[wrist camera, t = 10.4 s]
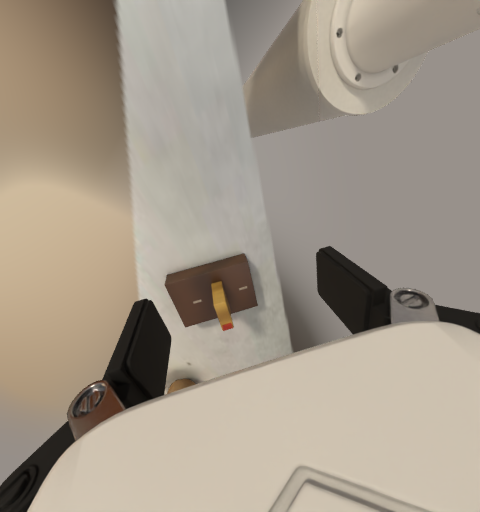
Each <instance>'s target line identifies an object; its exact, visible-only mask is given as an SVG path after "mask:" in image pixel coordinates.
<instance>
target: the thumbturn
mask: <svg viewBox="0 0 480 512" xmlns="http://www.w3.org/2000/svg"><path fill="white" fill-rule="evenodd" d="M211 286H212V295H213V304H214V308H215V310H216V313H217V316H218V319H219V322H220V324H221V327H222V330H223V331H225V330H228V329H231V328H233V327H234V326H233V322H232V317H231V312H230V307H229V303H228V300H227V297H226V294H225V290H224V287H223V284H222V281H219V282H216V283H212V284H211Z"/></svg>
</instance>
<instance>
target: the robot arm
mask: <svg viewBox="0 0 480 512" xmlns="http://www.w3.org/2000/svg"><path fill="white" fill-rule="evenodd" d="M478 29H480V0H336V3H335V6H334V10H333V13H332V18H331V25H330V50H331V56H332V60H333V63H334V66H335V68H336V70H337V72H338V74H339V75H340V77H341V78H342V80H343V81H344V82H346V83H347V84H348V85H349V86H351V87H354V88H356V89H361V90H366V89H372V88H375V87H378V86H381V85H383V84H385V83H387V82H388V81H390V80H391V79H392V78H394V77H395V76H396V75H397V74H398V73H399V72H400V71H401V70H402V69H403V67H404V66H405V65H406V63H407V62H408V61H409V59H411V58H414V57H416V56H418V55H420V54H423V53H425V52H427V51H429V50H432V49H434V48H437V47H439V46H441V45H444V44H445V43H448V42H450V41H453V40H455V39H457V38H460V37H462V36H464V35H466V34H469V33H471V32H474V31H476V30H478ZM316 261H317V284H318V285H317V287H318V293H319V295H320V296H321V298H322V299H323V300H324V301H325V302H326V303H327V305H328V306H329V307H330V308H331V309H332V310H333V312H334V313H335V314H336V315H337V316H338V317H339V318H340V320H341V321H342V322H343V323H344V324H345V326H346V327H347V328H348V329H349V330H350V331H351V333H352V334H353V335H350V336H347V337H343V338H340V339H337V340H334V341H331V342H327V343H324V344H321V345H318V346H315V347H311V348H308V349H305V350H302V351H299V352H296V353H292V354H289V355H286V356H283V357H280V358H276V359H273V360H270V361H267V362H264V363H261V364H258V365H254V366H251V367H248V368H245V369H242V370H239V371H236V372H233V373H229V374H226V375H223V376H220V377H217V378H214V379H211V380H208V381H205V382H202V383H199V384H196V385H193V386H189V387H186V388H183V389H180V390H177V391H175V392H172V393H169V394H166V395H164V391H165V384H166V376H167V369H168V361H169V354H170V347H171V335H170V333H169V331H168V329H167V327H166V326H165V324H164V322H163V320H162V318H161V316H160V315H159V313H158V311H157V309H156V307H155V305H154V304H153V302H152V301H151V300H148V299H143V300H140V301H136V302H135V303H134V305H133V307H132V309H131V312H130V314H129V317H128V319H127V322H126V324H125V326H124V329H123V331H122V334H121V336H120V338H119V341H118V343H117V346H116V348H115V350H114V353H113V355H112V358H111V360H110V362H109V365H108V367H107V370H106V372H105V375H104V377H103V379H102V380H100V381H96V382H94V383H92V384H90V385H88V386H87V387H86V388H84V389H83V390H82V391H81V392H80V393H79V394H78V395H77V396H76V397H75V398H74V400H73V401H72V403H71V405H70V406H69V409H68V412H67V418H68V421H67V422H66V423H65V424H64V425H63V426H62V427H61V428H60V429H59V430H58V431H57V432H56V433H55V434H53V435H52V436H51V437H50V438H49V439H48V440H47V441H46V442H45V443H44V444H43V445H42V446H41V447H39V448H38V449H37V450H36V451H35V452H34V453H33V454H32V455H31V456H30V457H29V458H28V459H27V460H26V461H25V462H23V463H22V464H21V465H20V466H19V467H18V468H17V469H16V470H15V471H14V472H13V473H12V474H11V475H10V476H9V477H8V478H7V479H6V480H5V481H4V482H3V483H2V485H1V486H0V512H480V313H475V312H470V311H465V310H459V309H454V308H448V307H443V306H438V305H435V303H434V301H433V299H432V298H431V297H430V296H429V295H427V294H425V293H423V292H421V291H418V290H416V289H411V288H398V289H395V290H393V291H391V290H390V289H388V288H387V286H386V285H384V284H383V283H382V282H380V281H379V280H377V279H376V278H375V277H373V276H372V275H370V274H369V273H367V272H366V271H365V270H363V269H362V268H360V267H359V266H358V265H356V264H355V263H353V262H352V261H351V260H349V259H348V258H346V257H345V256H344V255H342V254H341V253H339V252H338V251H336V250H335V249H334V248H332V247H331V246H328V247H325V248H321V249H319V252H317V253H316Z"/></svg>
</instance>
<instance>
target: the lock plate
mask: <svg viewBox="0 0 480 512" xmlns="http://www.w3.org/2000/svg"><path fill="white" fill-rule="evenodd" d="M219 281H222V284H223V287H224V290H225V294H226V297H227V300H228V303H229V307H230V312H231V314H232V313H235V312H239V311H242V310H245V309H249V308H252V307H255V306H258V304H257V300H256V295H255V291H254V287H253V282H252V278H251V273H250V269H249V265H248V261H247V259H246V256H245V254H241V255H237V256H233V257H230V258H226V259H223V260H219V261H216V262H212V263H209V264H205V265H201V266H198V267H194V268H191V269H187V270H184V271H180V272H176V273H173V274H169V275H167V277H166V281H165V286H166V289H167V291H168V293H169V295H170V297H171V299H172V301H173V303H174V305H175V307H176V309H177V311H178V313H179V315H180V317H181V320H182V322H183V324H184V326H185V327H188V326H192V325H195V324H198V323H202V322H205V321H208V320H212V319H215V318H218V316H217V313H216V310H215V308H214V304H213V295H212V286H211V284H212V283H216V282H219Z"/></svg>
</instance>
